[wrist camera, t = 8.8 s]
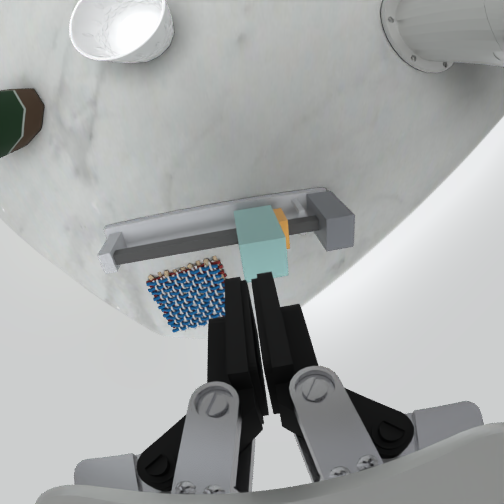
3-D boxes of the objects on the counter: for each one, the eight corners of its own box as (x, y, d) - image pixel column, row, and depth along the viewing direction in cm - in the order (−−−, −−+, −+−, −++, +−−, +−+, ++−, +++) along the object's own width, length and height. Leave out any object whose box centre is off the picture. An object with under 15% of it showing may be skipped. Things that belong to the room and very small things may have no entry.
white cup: (167, 73, 26) (146, 65, 17) (100, 64, 24) (57, 58, 15) (189, 8, 22) (179, -24, 14) (121, 1, 20) (88, -27, 12)
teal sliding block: (270, 204, 32) (285, 237, 25) (274, 237, 34) (288, 275, 27) (233, 210, 31) (238, 245, 25) (238, 243, 34) (245, 282, 27)
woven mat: (241, 309, 43) (242, 319, 42) (175, 326, 44) (174, 335, 42) (219, 251, 38) (219, 260, 36) (145, 273, 38) (142, 282, 37)
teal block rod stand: (327, 186, 35) (354, 213, 28) (328, 216, 37) (353, 248, 30) (105, 225, 34) (83, 260, 27) (115, 253, 36) (97, 291, 29)
